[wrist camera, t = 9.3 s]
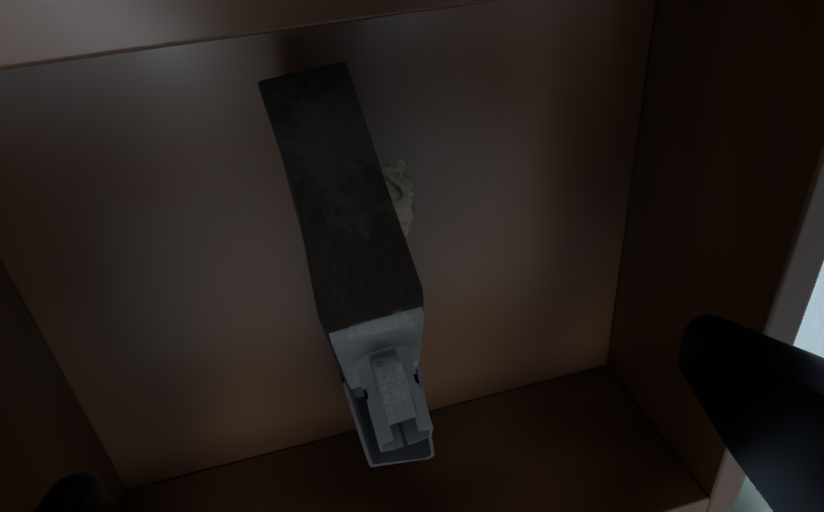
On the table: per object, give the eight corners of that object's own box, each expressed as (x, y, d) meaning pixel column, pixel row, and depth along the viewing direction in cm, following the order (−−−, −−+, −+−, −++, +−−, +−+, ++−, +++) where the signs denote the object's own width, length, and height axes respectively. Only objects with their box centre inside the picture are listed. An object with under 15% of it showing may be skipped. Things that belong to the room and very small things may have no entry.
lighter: (395, 263, 16) (458, 455, 14) (322, 284, 16) (375, 482, 14) (388, 50, 9) (516, 387, 7) (252, 82, 9) (343, 441, 7)
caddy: (108, 497, 15) (66, 725, 11) (-205, -37, 9) (-612, 41, 4) (616, 364, 18) (734, 510, 14) (691, -131, 11) (972, -139, 7)
